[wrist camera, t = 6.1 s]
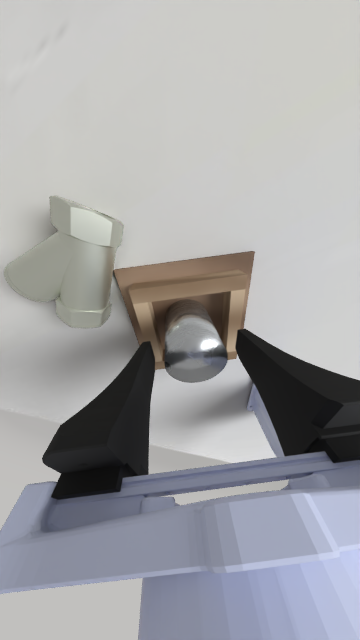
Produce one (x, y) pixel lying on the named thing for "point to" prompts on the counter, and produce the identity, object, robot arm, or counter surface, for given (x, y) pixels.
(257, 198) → the counter surface
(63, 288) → the pipe fitting
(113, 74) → the counter surface
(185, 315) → the silver metal cylinder
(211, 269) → the cradle board
